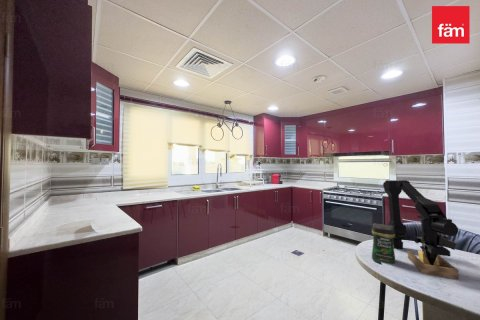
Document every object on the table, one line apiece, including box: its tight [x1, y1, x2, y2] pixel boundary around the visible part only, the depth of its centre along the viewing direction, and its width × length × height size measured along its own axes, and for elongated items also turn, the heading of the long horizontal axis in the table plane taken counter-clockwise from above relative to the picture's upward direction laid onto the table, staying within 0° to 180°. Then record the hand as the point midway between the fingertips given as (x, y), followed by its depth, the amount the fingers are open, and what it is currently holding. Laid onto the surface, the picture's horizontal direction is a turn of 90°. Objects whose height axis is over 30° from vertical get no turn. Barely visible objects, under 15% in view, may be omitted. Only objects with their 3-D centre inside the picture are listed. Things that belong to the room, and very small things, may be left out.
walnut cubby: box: [407, 250, 460, 280], centre depth 93 cm, size 12×16×5 cm
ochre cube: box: [417, 250, 437, 266], centre depth 96 cm, size 5×5×5 cm
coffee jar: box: [371, 222, 396, 265], centre depth 101 cm, size 10×8×19 cm
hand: (431, 264), depth 92 cm, fingers closed
